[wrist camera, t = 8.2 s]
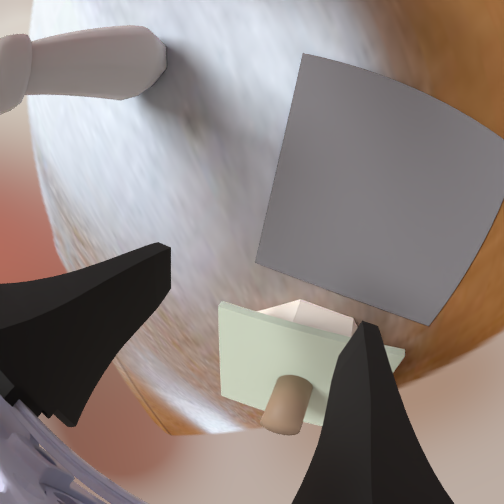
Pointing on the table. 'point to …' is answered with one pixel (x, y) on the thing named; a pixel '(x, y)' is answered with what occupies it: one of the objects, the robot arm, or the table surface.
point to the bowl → (313, 317)
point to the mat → (379, 190)
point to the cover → (280, 366)
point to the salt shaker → (81, 64)
